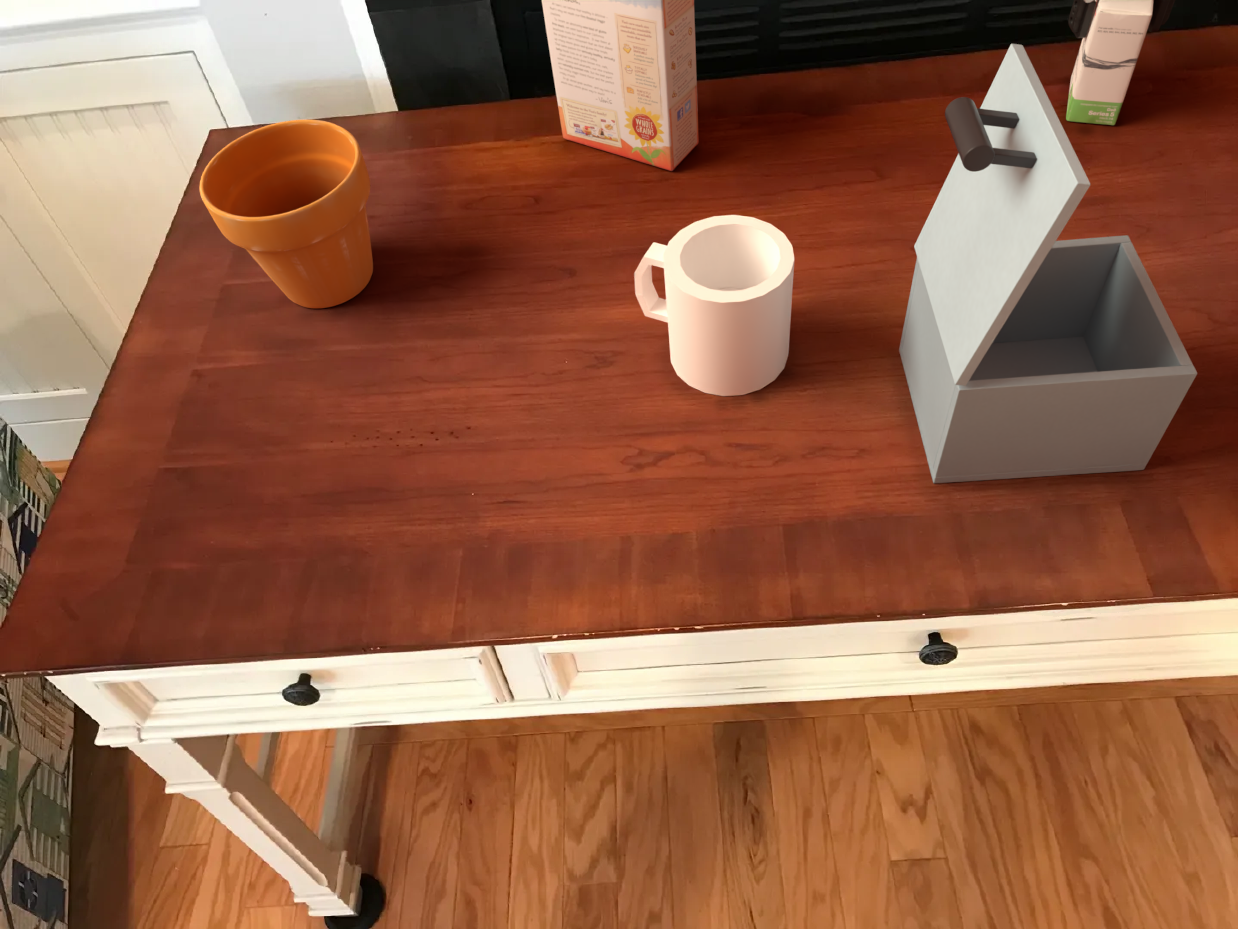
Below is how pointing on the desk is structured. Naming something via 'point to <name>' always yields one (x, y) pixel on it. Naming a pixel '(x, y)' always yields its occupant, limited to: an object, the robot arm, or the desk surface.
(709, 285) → the mug
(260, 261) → the flower pot
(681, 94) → the cracker box
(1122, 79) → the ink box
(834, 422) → the desk surface
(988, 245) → the freezer lid
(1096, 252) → the chest
